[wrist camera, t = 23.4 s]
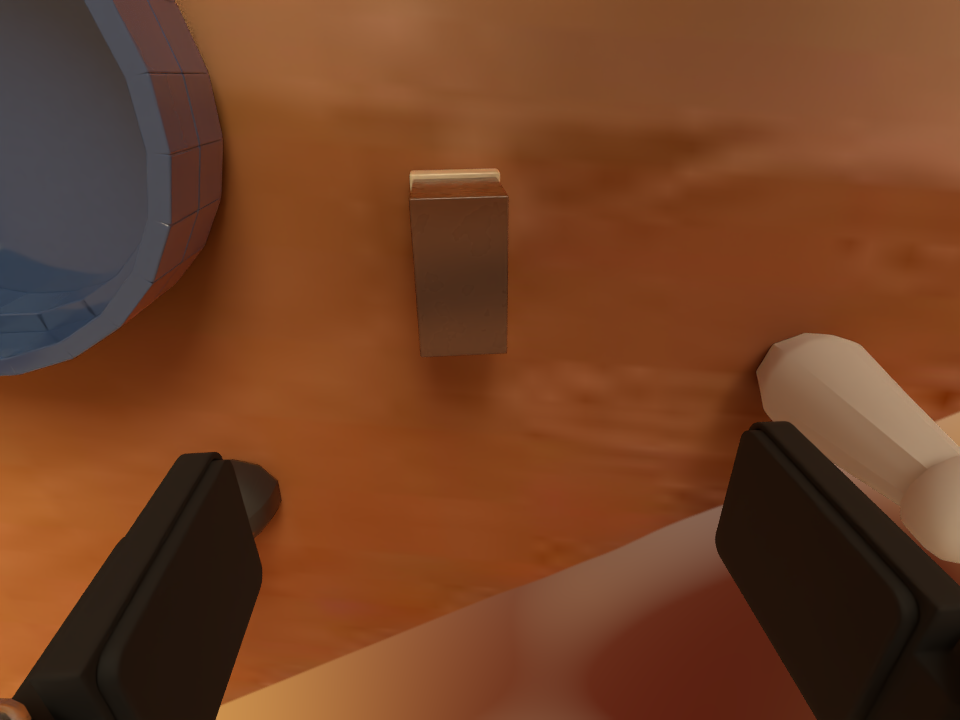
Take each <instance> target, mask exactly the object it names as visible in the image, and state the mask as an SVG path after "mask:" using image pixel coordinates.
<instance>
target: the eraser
mask: <svg viewBox="0 0 960 720" xmlns="http://www.w3.org/2000/svg"><path fill="white" fill-rule="evenodd" d="M409 178H410V192H411V193H410V198H409V207H410V220H411V234H412V247H413V261H414V274H415V288H416V301H417V315H418V328H419V342H420V355H421V357H435V356H457V355H478V354H499V353H507V305H508V203H509V197H508V195H507V193H506V192H505V190H504V188H503V187H502V185H501V184H500V172H499V171H498V169H496V168H487V169H449V170H412V171H411V172H410V176H409Z"/></svg>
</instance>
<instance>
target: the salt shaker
mask: <svg viewBox="0 0 960 720" xmlns="http://www.w3.org/2000/svg"><path fill="white" fill-rule="evenodd" d="M756 374H757V378H758V383H759V388H760V393H761V399H762V404H763V409H764V411H765V412H766V414H767V415H768V416H769V417H770V418H771V420H772V421H788V422H790V423H791V424H793V425H794V426H795V427H796V428H797V429H798V430H799V431H800V432H801V433H802V434H803V435H804V436H805V437H806V438H807V439H808V440H809V441H811V442H812V443H813V444H814V445H815V446H816V447H817V448H818V449H819V450H820V451H821V452H822V453H823V454H824V455H825V456H826V457H827V458H828V459H829V460H830V461H831V462H833V463H834V464H836V465H837V466H839V467H840V468H842V469H844V470H845V471H847V472H848V473H850V474H851V475H853V476H854V477H856V478H858V479H859V480H860V481H862V482H864V483H865V484H867V485H868V486H870V487H871V488H873V489H874V490H876V491H878V492H879V493H881V494H882V495H884V496H885V497H887V498H888V499H890V500H891V501H893V502H894V503H896V504H897V505H899V506H900V518H901V520H902V522H903V524H904V525H905V527H907V529H908V530H909V531H910V532H911V533H912V534H913V536H914V537H915V538H916V539H917V540H918V541H919V542H920V543H921V544H922V545H923V546H924V548H926V549H927V550H928V551H930V552H931V553H933V554H934V555H935V556H937V557H938V558H940V559H941V560H946V561H951V562H956V563H960V447H959V446H958V445H957V444H956V443H955V442H954V441H953V440H952V439H951V438H950V437H949V436H948V435H947V434H946V433H945V432H944V431H943V430H942V429H941V428H940V427H939V426H938V425H937V424H936V423H935V422H934V421H933V420H932V419H931V418H930V417H929V416H928V415H927V414H926V413H925V412H924V411H923V410H922V409H921V408H920V407H919V406H918V405H917V404H916V403H915V402H914V401H913V400H912V399H911V398H910V397H909V396H908V395H907V394H906V393H905V392H904V391H903V389H902V388H901V387H900V386H899V385H898V384H897V383H896V382H895V381H894V380H893V379H892V378H891V377H890V376H889V375H888V374H887V372H886V371H885V370H884V369H883V368H882V367H881V366H880V365H879V364H878V363H877V362H876V361H875V360H874V359H873V358H872V357H871V355H870V354H869V353H868V352H867V351H866V350H865V349H864V348H863V347H862V346H861V345H860V344H858V343H855V342H853V341H850V340H847V339H844V338H841V337H837V336H834V335H828V334H813V333H803V334H800V335H798V336H795V337H792V338H789V339H786V340H783V341H781V342H778V343H775V344H773V345H772V346H771V348H770V350H769V351H768V353H767V355H766V356H765V358H764V359H763V361H762V363H761V364H760V366H759V367H758V369H757V371H756Z"/></svg>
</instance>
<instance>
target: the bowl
mask: <svg viewBox="0 0 960 720" xmlns="http://www.w3.org/2000/svg"><path fill="white" fill-rule="evenodd" d="M222 138H223V137H222V132H221V127H220V123H219V118H218V114H217V109H216V104H215V100H214V95H213V91H212V86H211V82H210V77H209V75H208V70H207V68H206V66H205V64H204V62H203V60H202V57H201V55H200V53H199V51H198V49H197V47H196V45H195V42H194V40H193V38H192V36H191V34H190V32H189V29H188V27H187V25H186V23H185V21H184V19H183V16H182V14H181V12H180V10H179V8H178V6H177V4H175V1H174V0H0V376H13V375H21V374H25V373H28V372H31V371H35V370H38V369H41V368H45V367H48V366H51V365H55V364H58V363H61V362H65V361H68V360H71V359H74V358H75V357H78V356H79V355H81V354H82V353H84V352H85V351H87V350H88V349H90V348H91V347H93V346H94V345H96V344H97V343H99V342H100V341H102V340H103V339H105V338H106V337H108V336H109V335H111V334H112V333H114V332H115V331H117V330H118V329H119V328H121V327H122V326H123V325H124V324H126V323H127V322H128V321H129V320H131V319H132V318H133V317H134V316H136V315H137V314H138V313H139V312H141V311H142V310H143V309H145V308H146V307H147V306H148V305H149V304H151V303H152V302H153V301H155V300H156V299H157V298H158V297H160V296H161V295H162V294H163V293H165V292H166V291H167V290H168V289H170V288H171V287H172V286H173V285H175V284H176V283H177V282H178V280H179V279H180V278H181V276H182V275H183V274H184V272H185V271H186V270H187V268H188V267H189V266H190V265H191V263H192V262H193V261H194V259H195V258H196V257H197V255H198V254H199V253H200V251H201V250H202V249H203V248H204V245H205V244H206V241H207V238H208V235H209V232H210V229H211V226H212V223H213V220H214V217H215V214H216V212H217V209H218V206H219V203H220V200H221V198H220V197H221V189H222V162H223V140H222Z"/></svg>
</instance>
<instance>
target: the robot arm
mask: <svg viewBox="0 0 960 720" xmlns="http://www.w3.org/2000/svg"><path fill="white" fill-rule="evenodd" d="M715 543H716V548H717V551H718V554H719V555H720V557H721V559H722V561H723V563H724V564H725V566H726V568H727V569H728V571H729V573H730V574H731V576H732V578H733V579H734V581H735V583H736V584H737V586H738V588H739V589H740V591H741V593H742V594H743V595H744V598H745V599H746V601H747V603H748V604H749V606H750V608H751V609H752V611H753V613H754V615H755V616H756V618H757V619H758V621H759V623H760V625H761V626H762V628H763V630H764V631H765V633H766V635H767V636H768V638H769V640H770V641H771V643H772V645H773V646H774V648H775V650H776V652H777V653H778V655H779V656H780V658H781V660H782V662H783V663H784V665H785V667H786V668H787V670H788V672H789V673H790V675H791V677H792V678H793V680H794V682H795V683H796V685H797V687H798V688H799V690H800V692H801V693H802V695H803V697H804V699H805V700H806V702H807V704H808V705H809V707H810V709H811V710H812V712H813V714H814V715H815V717H816V719H817V720H960V586H959V585H958V584H957V583H956V582H955V581H954V580H953V579H952V578H951V577H950V576H949V575H948V574H947V573H946V572H945V571H944V570H942V568H941V567H940V566H939V565H937V564H936V563H935V562H934V561H933V560H932V559H931V558H930V557H929V556H928V555H927V554H926V553H925V552H924V551H923V550H922V549H921V548H920V547H919V546H918V545H917V544H916V543H915V542H914V541H913V540H911V538H910V537H909V536H908V535H907V534H905V533H904V532H903V531H902V530H901V529H900V528H899V527H898V526H897V525H896V524H895V523H894V522H893V521H892V520H891V519H890V518H889V517H888V516H887V515H886V514H885V513H884V512H883V511H882V510H881V509H880V508H879V507H878V506H877V505H876V504H875V503H873V502H872V501H871V500H870V499H869V498H868V497H867V496H866V495H865V494H864V493H863V492H862V491H861V490H860V489H859V488H858V487H857V486H856V485H855V484H854V483H853V482H852V481H851V480H850V479H849V478H848V477H847V476H846V475H844V473H843V472H841V471H840V470H839V469H838V468H837V467H836V466H835V465H834V464H833V463H832V462H831V461H830V460H829V459H828V458H827V457H826V456H825V455H824V454H823V453H822V452H821V451H820V450H819V449H818V448H817V447H816V446H815V445H814V444H813V443H812V442H811V441H809V440H808V439H807V438H806V437H805V436H804V435H803V434H802V433H801V432H800V431H799V430H798V429H797V428H796V427H795V426H794V425H793V424H791V423H790V422H788V421H773V422H757V423H754V424H753V425H752V426H751V427H750V429H749V431H745V432H744V433H743V434H742V436H741V439H740V443H739V447H738V450H737V454H736V458H735V462H734V466H733V470H732V474H731V477H730V481H729V485H728V489H727V493H726V497H725V501H724V504H723V508H722V512H721V516H720V520H719V524H718V528H717V531H716V537H715ZM261 583H262V565H261V562H260V558H259V555H258V551H257V548H256V544H255V540H254V537H253V533H252V530H251V526H250V523H249V519H248V516H247V512H246V509H245V505H244V502H243V498H242V495H241V491H240V488H239V484H238V481H237V477H236V474H235V470H234V467H233V464H232V462H231V461H230V460H223V459H222V456H221V455H220V454H219V453H217V452H208V453H190V454H183V455H181V456H180V457H179V458H178V459H177V460H176V462H175V463H174V465H173V466H172V468H171V469H170V471H169V472H168V474H167V475H166V476H165V478H164V479H163V481H162V482H161V484H160V485H159V487H158V488H157V490H156V491H155V493H154V494H153V496H152V497H151V499H150V500H149V502H148V503H147V505H146V506H145V508H144V509H143V511H142V512H141V514H140V515H139V517H138V518H137V520H136V521H135V523H134V524H133V525H132V527H131V528H130V530H129V531H128V533H127V534H126V536H125V537H123V538H122V539H121V540H120V542H119V543H118V544H117V545H116V546H115V548H114V549H113V551H112V552H111V554H110V555H109V557H108V558H107V560H106V561H105V563H104V564H103V565H102V567H101V568H100V570H99V571H98V573H97V574H96V576H95V577H94V579H93V580H92V582H91V583H90V585H89V586H88V588H87V589H86V590H85V592H84V593H83V595H82V596H81V598H80V599H79V601H78V602H77V604H76V605H75V607H74V608H73V610H72V611H71V613H70V614H69V615H68V617H67V618H66V620H65V621H64V623H63V624H62V626H61V627H60V629H59V630H58V632H57V633H56V635H55V636H54V638H53V639H52V640H51V642H50V643H49V645H48V646H47V648H46V649H45V651H44V652H43V654H42V655H41V657H40V658H39V660H38V661H37V663H36V664H35V665H34V667H33V668H32V670H31V671H30V673H29V674H28V676H27V677H26V679H25V680H24V682H23V683H22V685H21V686H20V688H19V689H18V690H17V692H16V693H15V695H14V696H13V698H12V699H1V698H0V720H216V716H217V714H218V710H219V708H220V705H221V702H222V699H223V696H224V693H225V690H226V687H227V684H228V681H229V678H230V675H231V673H232V670H233V667H234V664H235V661H236V658H237V655H238V652H239V649H240V646H241V643H242V640H243V637H244V634H245V631H246V629H247V626H248V623H249V620H250V617H251V614H252V611H253V608H254V605H255V602H256V599H257V596H258V593H259V590H260V587H261Z"/></svg>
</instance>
